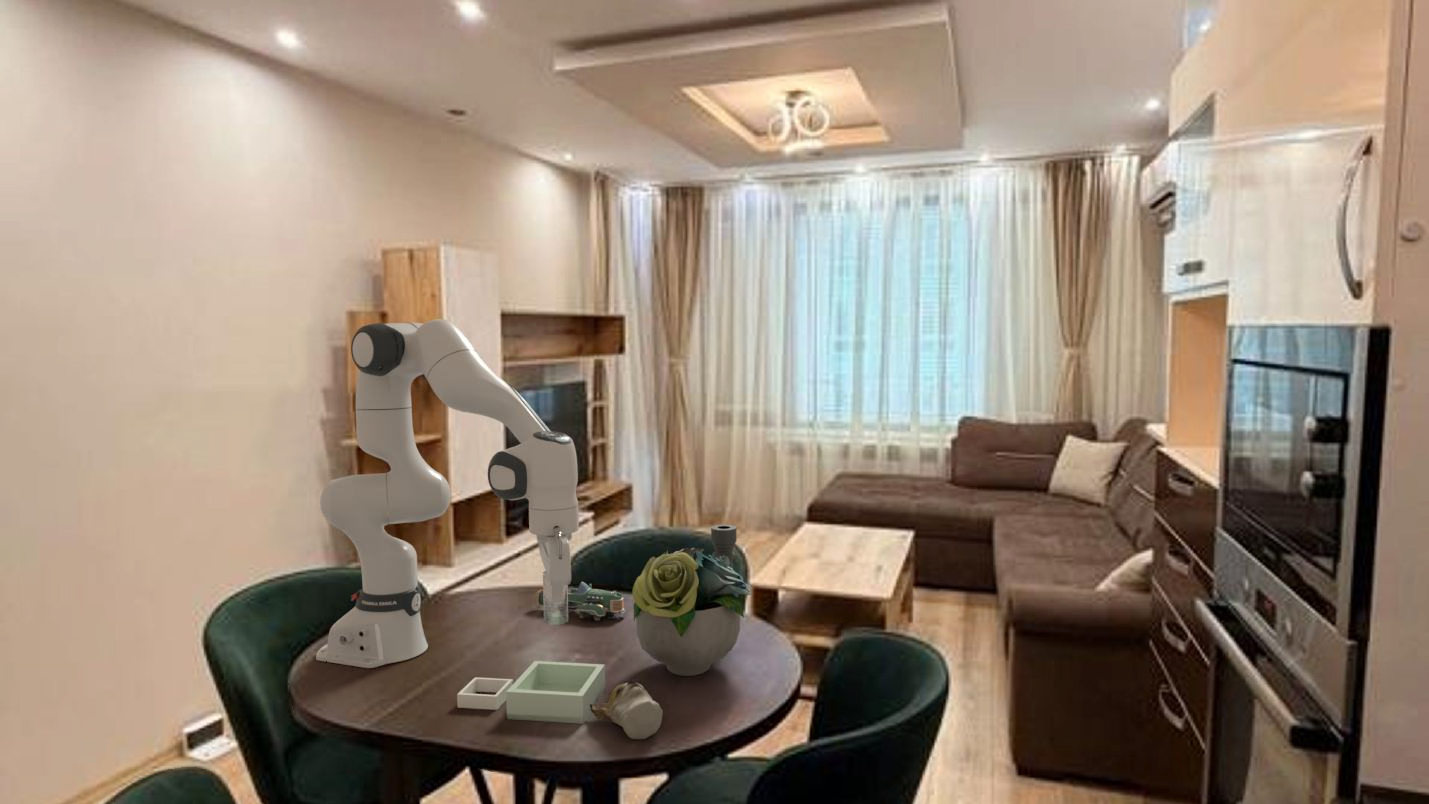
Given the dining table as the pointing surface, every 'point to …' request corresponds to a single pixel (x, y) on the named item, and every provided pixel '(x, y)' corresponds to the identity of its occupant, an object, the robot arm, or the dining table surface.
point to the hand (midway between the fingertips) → (555, 596)
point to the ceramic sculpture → (631, 710)
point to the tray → (556, 692)
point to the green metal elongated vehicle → (591, 601)
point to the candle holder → (724, 541)
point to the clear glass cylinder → (554, 604)
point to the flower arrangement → (688, 609)
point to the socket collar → (484, 701)
